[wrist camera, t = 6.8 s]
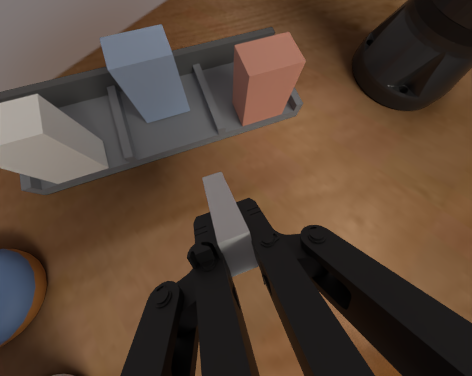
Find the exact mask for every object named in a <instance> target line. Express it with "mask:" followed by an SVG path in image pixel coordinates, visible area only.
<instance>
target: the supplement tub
mask: <svg viewBox="0 0 472 376" xmlns="http://www.w3.org/2000/svg"><path fill="white" fill-rule="evenodd" d="M52 376H74V375H69V374H57V375H52Z"/></svg>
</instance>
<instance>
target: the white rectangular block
mask: <svg viewBox="0 0 472 376" xmlns="http://www.w3.org/2000/svg"><path fill="white" fill-rule="evenodd" d="M0 168H2V169H5V170H9V171H13V172H16V173H20V174H24V175H27V176H31V177H34V178H38V179H42V180H45V181H49V182H53V183H56V184H60V183H63V182H66V181H69V180H72V179H76V178H79V177H82V176H85V175H88V174H92V173H95V172H98V171H101V170H104V169H108V168H109V166H108V162H107V158H106V153H105V149H104V144H103V141H102V140H101V139H99V138H98V137H97V136H95V135H94V134H93V133H91V132H90V131H88V130H87V129H86V128H84V127H83V126H81V125H80V124H79V123H77V122H76V121H74V120H73V119H72V118H70V117H69V116H68V115H66V114H65V113H63V112H62V111H61V110H59V109H58V108H56V107H55V106H54V105H52V104H51V103H49V102H48V101H47V100H45V99H44V98H42V97H41V96H40V95H38V94H34V95H30V96H26V97H22V98H18V99H14V100H10V101H6V102H2V103H0Z"/></svg>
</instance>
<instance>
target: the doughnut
mask: <svg viewBox="0 0 472 376" xmlns="http://www.w3.org/2000/svg"><path fill="white" fill-rule="evenodd" d="M46 288H47V281H46V273H45V270H44V268H43V266H42V265H41V263H40V261H39V260H37V259H36V258H35V257H34V256H32V255H31V254H29V253H27V252H24V251H20V250H17V249H0V347H2V346H3V345H5V344H6V343H8V342H9V341H11V340H12V339H13V338H15V337H16V336H17V335H19V334H20V333H21V332H23V330H24V329H25V328H26V327H27V326H28V325H29V323H30V322H31V321H32V320H33V319H34V317H35V316H36V315H37V314H38V312H39V309H40V307H41V305H42V303H43V301H44V299H45V293H46Z"/></svg>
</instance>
